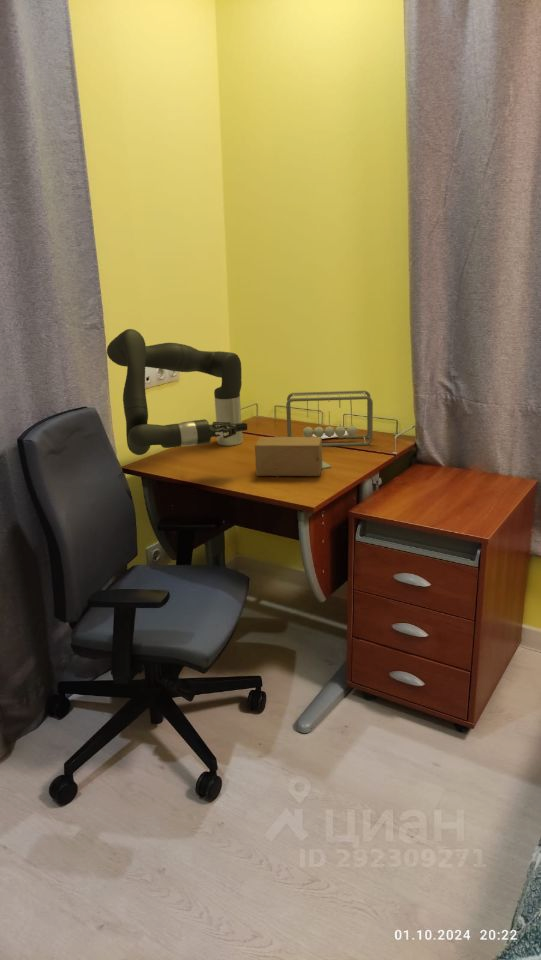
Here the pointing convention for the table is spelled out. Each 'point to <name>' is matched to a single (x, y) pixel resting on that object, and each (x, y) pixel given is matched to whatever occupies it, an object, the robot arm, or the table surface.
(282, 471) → the wooden block
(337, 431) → the newton's cradle
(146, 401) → the robot arm
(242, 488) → the table surface
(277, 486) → the table surface
